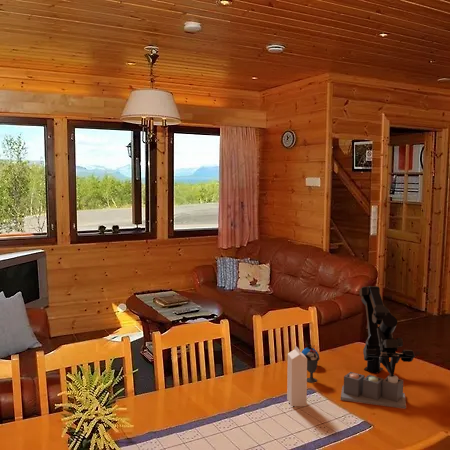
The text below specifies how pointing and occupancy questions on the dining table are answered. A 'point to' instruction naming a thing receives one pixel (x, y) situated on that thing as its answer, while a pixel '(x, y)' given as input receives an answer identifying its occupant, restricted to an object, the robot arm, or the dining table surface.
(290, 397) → the milk
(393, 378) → the white rounded dome
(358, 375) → the salmon orange ball
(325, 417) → the dining table surface
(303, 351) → the ornament
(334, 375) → the dining table surface
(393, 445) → the dining table surface
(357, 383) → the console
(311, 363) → the sundae
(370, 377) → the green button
